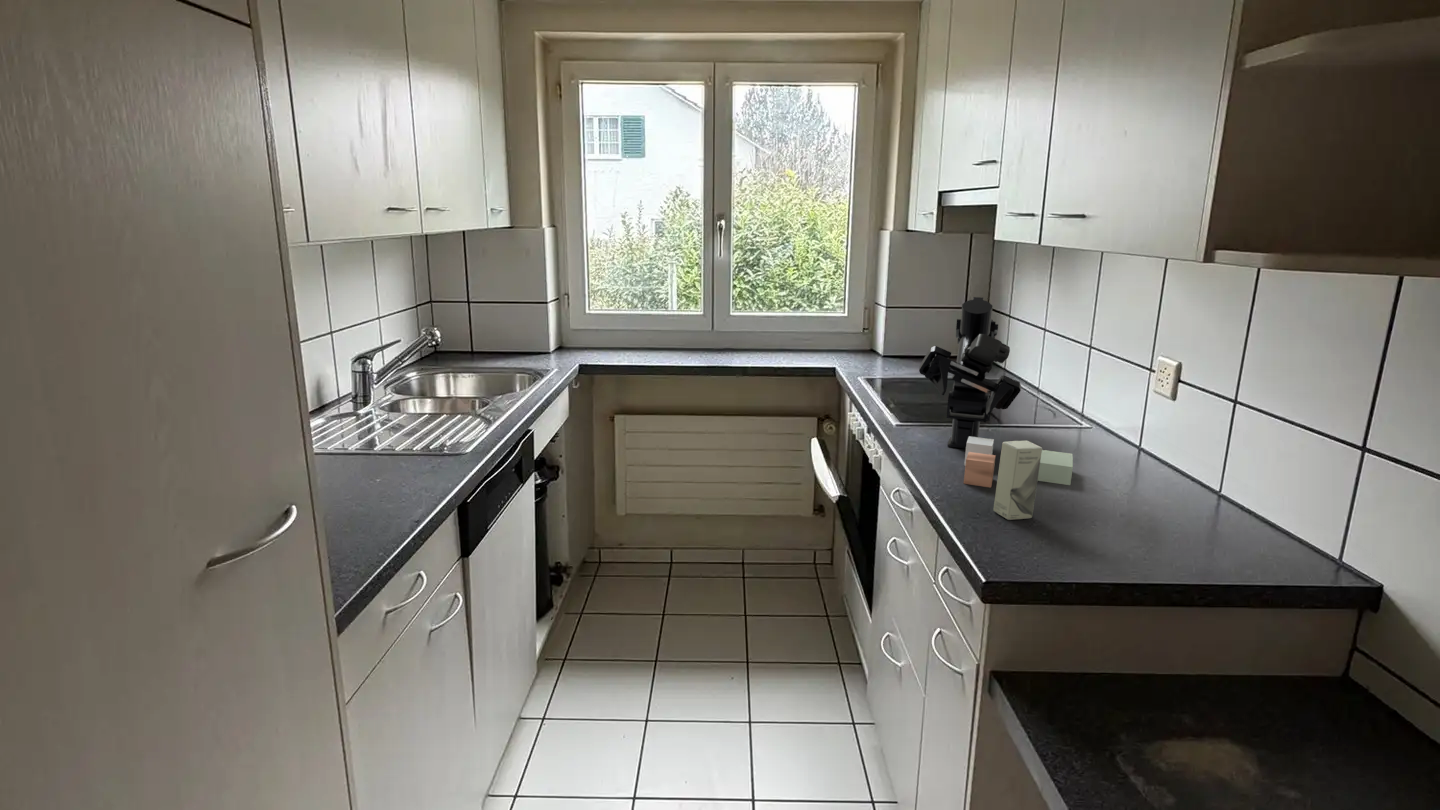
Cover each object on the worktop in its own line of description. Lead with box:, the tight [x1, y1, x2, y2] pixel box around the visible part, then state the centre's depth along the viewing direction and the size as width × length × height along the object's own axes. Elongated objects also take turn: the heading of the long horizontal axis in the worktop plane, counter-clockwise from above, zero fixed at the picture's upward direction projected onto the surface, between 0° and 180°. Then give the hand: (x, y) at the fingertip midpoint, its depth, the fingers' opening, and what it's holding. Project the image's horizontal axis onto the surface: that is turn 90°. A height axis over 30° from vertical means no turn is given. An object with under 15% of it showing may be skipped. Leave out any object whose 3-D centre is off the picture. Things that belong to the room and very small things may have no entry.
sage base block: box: [1037, 449, 1074, 486], centre depth 154 cm, size 9×9×4 cm
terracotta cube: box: [963, 452, 996, 488], centre depth 149 cm, size 5×5×5 cm
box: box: [992, 440, 1043, 521], centre depth 132 cm, size 5×4×13 cm
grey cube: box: [963, 436, 995, 466], centre depth 159 cm, size 5×5×5 cm
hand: (966, 403), depth 145 cm, fingers open, 9 cm apart
